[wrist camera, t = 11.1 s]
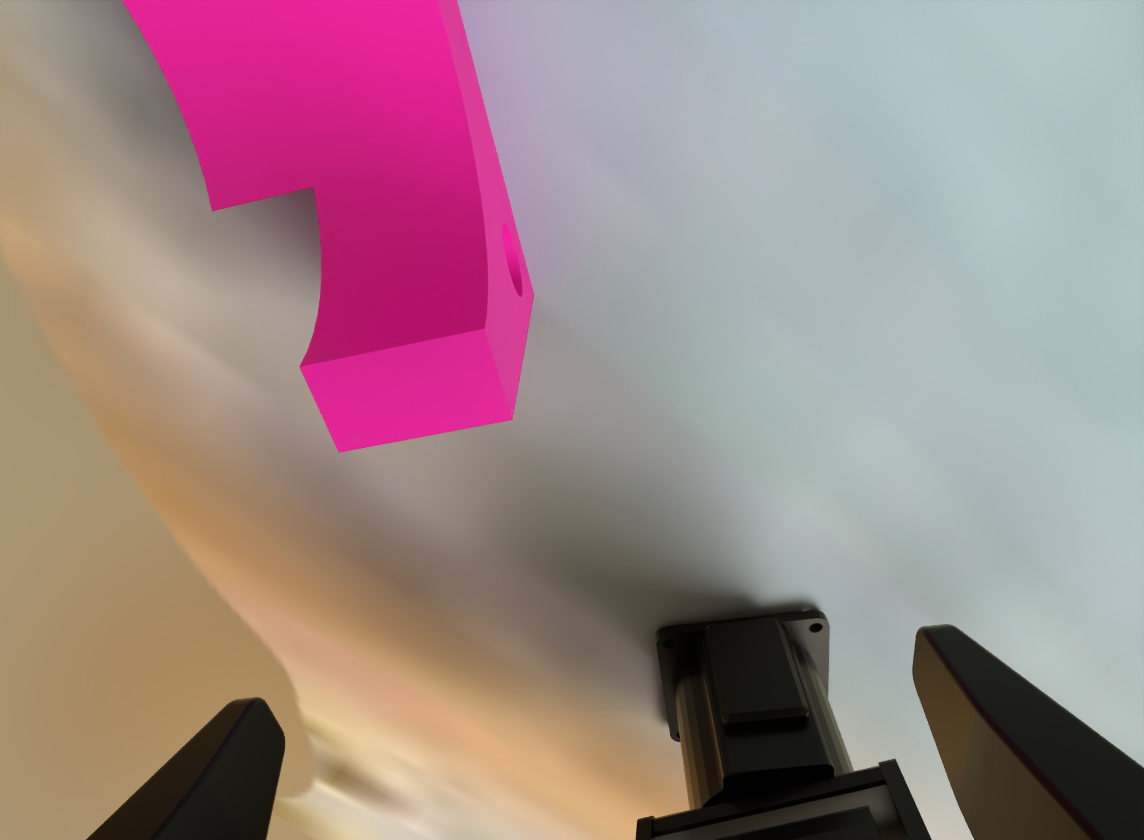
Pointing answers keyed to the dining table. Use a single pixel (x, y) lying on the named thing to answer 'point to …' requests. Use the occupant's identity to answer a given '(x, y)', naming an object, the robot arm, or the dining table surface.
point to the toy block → (366, 194)
